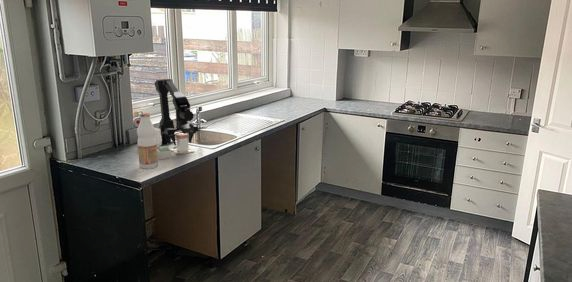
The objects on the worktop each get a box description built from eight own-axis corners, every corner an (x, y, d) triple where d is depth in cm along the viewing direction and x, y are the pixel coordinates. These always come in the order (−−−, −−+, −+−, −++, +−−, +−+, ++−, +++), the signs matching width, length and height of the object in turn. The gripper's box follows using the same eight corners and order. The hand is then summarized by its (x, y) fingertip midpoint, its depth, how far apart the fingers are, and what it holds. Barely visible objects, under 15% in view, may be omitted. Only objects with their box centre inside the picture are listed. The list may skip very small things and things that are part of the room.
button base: (155, 156, 241) (155, 149, 240) (167, 154, 245) (167, 147, 244) (160, 159, 236) (159, 152, 235) (172, 157, 240) (171, 150, 239)
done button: (158, 151, 240) (158, 147, 240) (165, 150, 243) (165, 145, 242) (161, 153, 237) (161, 148, 236) (168, 151, 239) (168, 147, 239)
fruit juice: (137, 169, 220) (132, 115, 213) (142, 163, 229) (138, 112, 222) (155, 169, 220) (151, 115, 213) (160, 163, 229) (156, 112, 222)
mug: (167, 147, 259) (166, 130, 257) (155, 149, 253) (154, 133, 251) (156, 143, 267) (155, 127, 264) (144, 145, 261) (143, 129, 258)
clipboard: (169, 150, 254) (169, 147, 253) (185, 147, 259) (185, 144, 259) (177, 155, 244) (177, 152, 244) (193, 152, 250) (193, 149, 249)
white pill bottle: (176, 150, 250) (175, 133, 248) (185, 148, 253) (184, 132, 251) (180, 152, 246) (179, 135, 244) (188, 151, 249) (188, 134, 247)
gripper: (170, 122, 233) (172, 150, 237) (202, 118, 244) (203, 145, 248) (163, 118, 242) (165, 145, 246) (194, 115, 252) (195, 140, 257)
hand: (182, 144), depth 249 cm, fingers open, 9 cm apart
